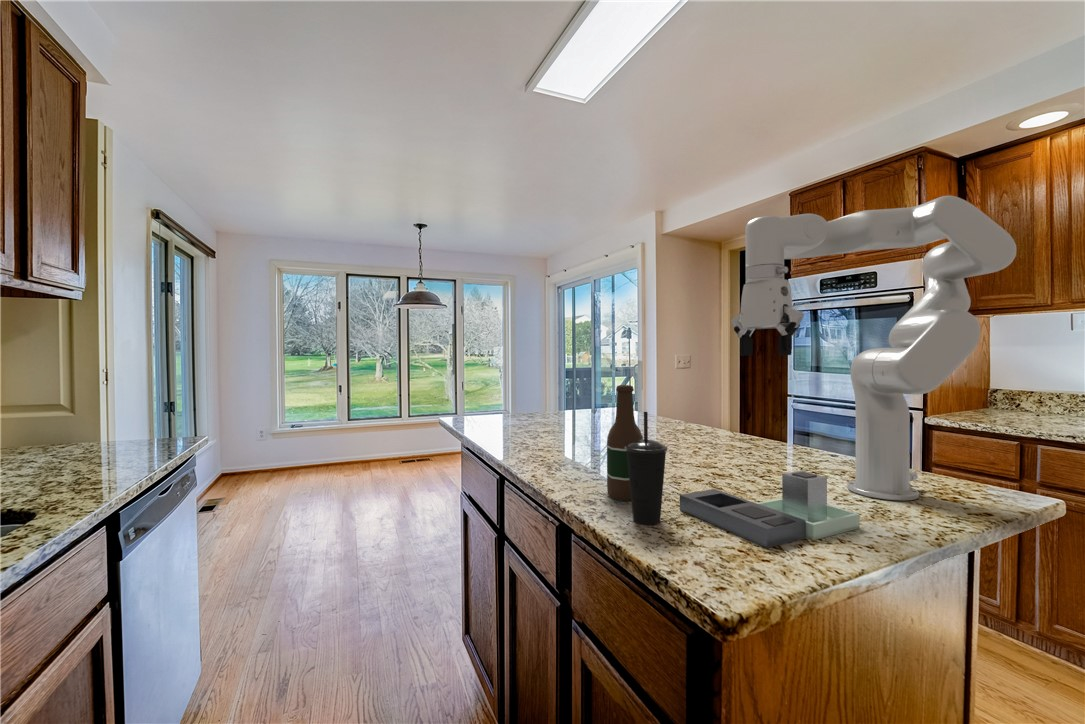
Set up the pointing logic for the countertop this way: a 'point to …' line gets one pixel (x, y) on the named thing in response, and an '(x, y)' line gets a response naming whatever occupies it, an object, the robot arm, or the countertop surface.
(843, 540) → the countertop surface
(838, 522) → the parts tray
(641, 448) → the drinking cup
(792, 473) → the block
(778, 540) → the grey slotted block
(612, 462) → the beer bottle
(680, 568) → the countertop surface
